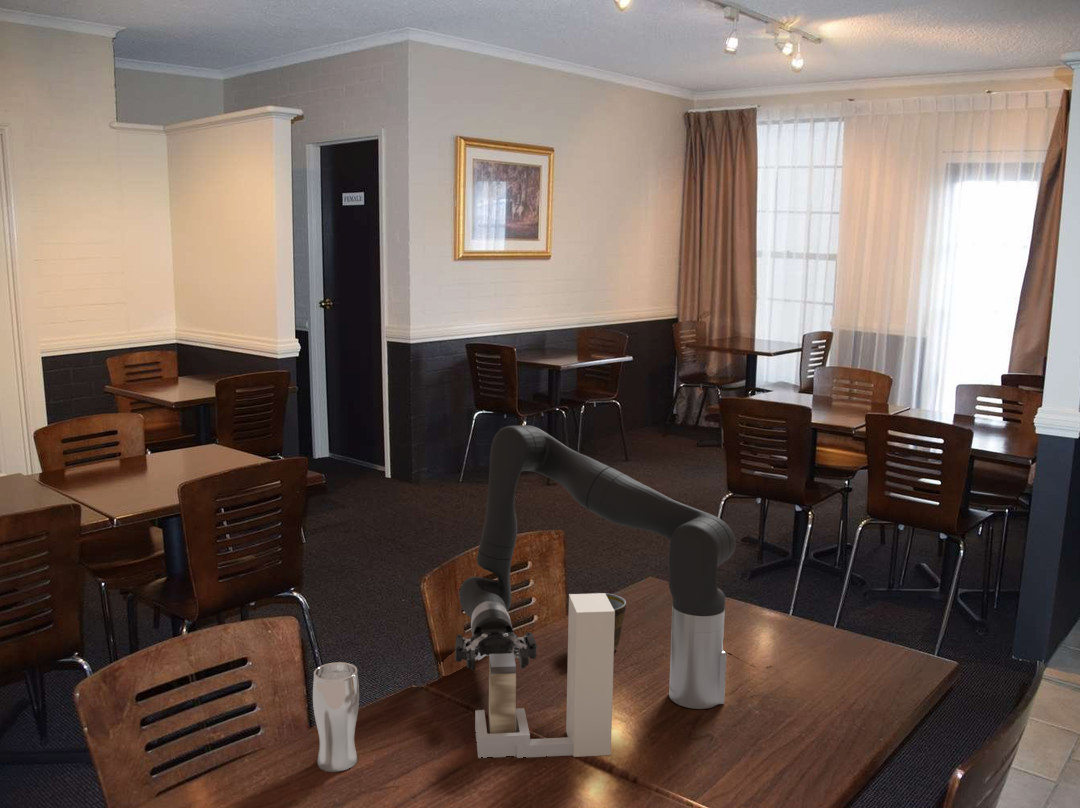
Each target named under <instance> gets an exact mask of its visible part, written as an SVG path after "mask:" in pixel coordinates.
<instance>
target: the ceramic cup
mask: <svg viewBox="0 0 1080 808" xmlns="http://www.w3.org/2000/svg"><path fill="white" fill-rule="evenodd" d="M598 593H599V592H592V593H590V594H598ZM604 593H605V592H604ZM605 594H606V596H607V598H608V599H609V601H610V603H611V605H612V607H613V609H614V611H615V625H614V652H616V651H617V650H618V648H619V643H620V637H621V633H622V632H621V631H622V628H623V623H624V621H625V615H626V609H627V601H626V599H624V597H622V596H619V595H616V594H613V593H608V592H607V593H605ZM616 649H617V650H616ZM615 650H616V651H615Z"/></svg>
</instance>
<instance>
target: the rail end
mask: <svg viewBox="0 0 1080 808" xmlns="http://www.w3.org/2000/svg"><path fill="white" fill-rule="evenodd" d="M516 689H517V664H516V658H514V653H506V654H489V656H488V734H496V733H516V730H515V713H516V709H517V708H516V706H517V705H516V701H517V699H516V698H517V694H516V693H517V690H516Z"/></svg>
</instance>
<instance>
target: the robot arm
mask: <svg viewBox="0 0 1080 808" xmlns="http://www.w3.org/2000/svg"><path fill="white" fill-rule="evenodd" d="M522 472H533V473H537V474H539V475H542V476H545V477H546V478H548V479H551V480H553V481H555V482H557V483H559V484H560V485H561V486H562V487H564V488H565V490H566V491H567V492H568V494H570V495H571V497H572V498H573V499H574V500H575V501H576V503H578V505H580V506H581V507H583V508H584V509H586V510H587V511H589V512H591V513H593V514H595V515H597V516H598V517H601V518H602V519H604V520H606V521H608V522H611V523H613V524H617V525H619V526H623V527H628V528H632V529H636V530H637V529H638V530H642V531H647V532H652V533H655V534H658V535H661V537H662V536H663V537H665V538H667V539H669V545H668V587H669V591H670V594H671V597H672V608H671V609H672V610H671V614H672V615H671V635H670V637H671V638H670V660H669V664H670V665H669V683H668V687H669V688H668V689H669V690H668V691H669V692H668V697H669V699H670V700H671V701H672V702H674V703H675V704H676V705H679V706H682V707H684V708H688V709H693V710H694V709H695V710H696V709H697V710H705V709H710V708H713V707H716V706H718V705H723V704H725V697H726V696H725V694H726V693H725V691H726V675H727V673H726V672H727V653H726V652H725V651H724V650H723V640H724V632H725V613H726V611H725V610H726V609H725V608H726V596H725V592H723V590H722V589H720V588H718V567H719V566H721V565H722V564H724V563H725V562H727V561H728V560H729V559H730V558H731V557H732V556H733V554H734V552H735V550H736V546H737V544H736V543H737V540H736V537H735V534H734V532H733V530H732V528H731V527H730V526H729V524H728V523H726V521H725V520H722V519H721V518H720V517H718V516H716V515H714V514H711V513H709V512H706V511H704V510H701V509H697V508H695V507H692V506H690V505H687V504H684V503H683V502H682V503H681V502H679V501H677V500H674V499H673V498H671V497H669V496H666V495H665V494H663V493H661V492H659V491H657V490H655V489H653V488H652V487H650V486H648V485H645V484H644V483H642V482H640V481H638V480H636V479H634V478H632V477H631V476H629V475H628V474H625V473H624V472H621V471H619V470H617V469H616V468H613V467H611V466H609V465H607V464H605V463H603V462H600V461H598V460H596V459H593V458H592V457H590V456H588V455H585V454H582V453H580V452H578V451H576V450H574V449H572V448H570V447H568V446H566V444H564V443H562V442H561V441H559V440H558V439H556V438H555V437H553V436H552V435H550V434H549V433H548V432H546V431H544V430H542V429H541V428H539V427H537V426H534V425H530V424H529V425H527V424H526V425H508V426H505V427H502V428H500V429H499V430H498V431H497V432H496V433H495V434H494V436H493V438H492V443H491V448H490V457H489V473H488V485H487V501H486V512H485V518H484V523H483V528H482V533H481V538H480V542H479V545H478V551H477V556H476V562H477V565H478V566H479V567H480V568H481V569H483V570H486V571H488V572H490V573H492V574H494V575H495V576H496V577H497V579H492V578H486V577H485V578H484V577H479V576H471V577H468V578H466V579H465V580H464V581H463V582H462V584H461V586H460V588H459V595H458V597H459V604H460V606H461V608H462V610H463V612H464V613H465V614H466V615H467V616H468V617H469V618H470V619H471V620H470V632H471V637H470V638H465V637H464V636H463V635H462V634H457V635H456V636H455V649H454V650H455V654H454V655H455V658H454V660H455V662H462V661H463V660H465V663H466V668H468V669H470V671H471V672H472V671H474V672H475V671H476V660H477V661H481V660H482V659H483V658H485V657H489V654H506V653H514V658H515V659H517V660H518V661H519V665H520V669H523V670H524V669H526V667H528V666H529V664H530V662H529V661H530V659H537V647H538V645H537V641H536V639H535V637H534V634H533V633H532V632H530V631H529V632H525V634H524V635H523V636H518V635H517V634H515V633H514V629H513V626H512V625H513V624H512V620H511V617H510V614H509V613H508V611H509V609H510V607H511V604H512V589H511V588H512V587H511V566H512V560H513V555H514V551H515V547H516V542H517V537H518V519H517V513H516V506H515V505H516V504H515V496H516V494H515V493H516V488H517V484H518V481H519V480H520V479H519V478H520V476H521V474H522Z"/></svg>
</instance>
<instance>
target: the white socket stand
mask: <svg viewBox="0 0 1080 808" xmlns="http://www.w3.org/2000/svg"><path fill="white" fill-rule="evenodd" d="M597 593H598V594H591V593H569V594H568V624H567V625H568V626H567V628H568V629H567V631H568V632H567V633H568V634H567V637H568V638H567V673H566V674H567V676H566V677H567V678H566V679H567V681H566V683H567V684H566V720H565V723H566V724H565V725H566V726H565V727H566V730H565V731H566V735H567V736H566V737H548V738H531V734H530V730H529V725H528V719H527V715H526V711H525V708H524V707H523V708H521V707H519V708H516V713H515V733H496V734H489V733H488V729H487V720H486V713H485V709H475V711H474V712H475V713H474V714H475V715H474V716H475V717H474V718H475V719H474V720H475V722H474V724H475V726H474V732H476V733H475V741H476V742H477V743H476V750H477V759H488V758H487V757H493V758H507V757H506V756H514V757H516V759H522V758H523V757H526V758H527V759H528V758H543V757H546V756H547V757H563V756H565V757H566V756H567V757H568V756H573V758H576V757H577V758H579V757H599V756H611V755H612V729H613V727H612V725H613V721H612V720H613V695H614V694H613V691H614V689H613V688H614V685H613V684H614V654H615V651H614V625H615V611H614V609H613V607H612V605H611V603H610V601H609V599H608V598H607V596H606V594H605V592H597ZM481 757H483V758H481ZM523 759H524V758H523Z"/></svg>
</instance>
